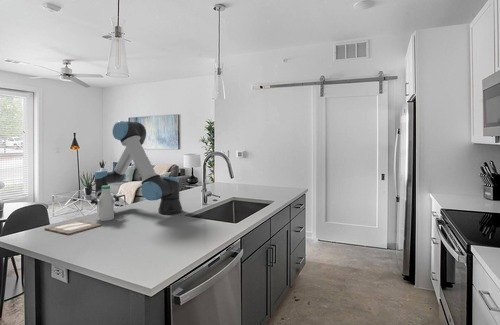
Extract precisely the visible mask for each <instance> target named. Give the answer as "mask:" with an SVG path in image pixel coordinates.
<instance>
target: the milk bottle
mask: <svg viewBox="0 0 500 325" xmlns="http://www.w3.org/2000/svg"><path fill="white" fill-rule="evenodd" d="M101 189H102V193H101V196H100V198H99V201H100V206H98V217H99V221H100V222H108V221H113V220H114V219H115V214H114V213H115V211H114V207H115V204H114V203H113V197H112V196H113V195H112V193H111V185H108V186H101Z"/></svg>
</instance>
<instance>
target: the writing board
mask: <svg viewBox="0 0 500 325" xmlns="http://www.w3.org/2000/svg"><path fill="white" fill-rule="evenodd" d="M99 227H102V224H100V223H95V222H91V221H85V220H78V219H77V220H74V221H73V220H72V221H69V222H65V223H61V224H55V225H53V226H48V227H45V228H44V231H49V232H53V233H58V234H61V235H65V236H70V235H74V234H78V233H81V232H84V231H87V230H91V229H94V228H99Z"/></svg>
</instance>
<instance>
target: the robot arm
mask: <svg viewBox="0 0 500 325" xmlns="http://www.w3.org/2000/svg"><path fill="white" fill-rule="evenodd" d="M111 131H112V135H113V138H114V139H116V140H117V141H120V144H121V145H122V146H124V147H125V148H124V150H123V152H122V154H121V156H120V157H119V159H118V161H117V163H116V165H115V167H114V169H113V170H112V172H108V170H103V169H102V170H95V172H94V183H95V184H94V185H95V186H94V188H95V190H94V191H95V192H94V196H91V200H90V201H91V204H93V205H95V206H98V207H99V206H100V201H99V198H100V196H101V193H102V189H101V186H109V184H116V183H121V182H124V181H125V180H126V178H127V175H126V172H127V170H128V169H129V168H130V164H131V163H132V162H133V164H134V166H135V167H136V169H137V172H138V173H139V176H140V178H141V182H140V183H141V186H140V192H141V196H143V198H145V200H147V201H152V202H153V201H158V200H160V203H159V207H158V211H157V212H158V213H159V214H161V215H175V214H179V213H180V214H181V213H182V212H183V206H182V204H181V200H180V179H179V177H176V176H161V175H160V174H159V173H157V172H156V171H155V169H154V167H153V165H152V164H151V161H150V160H149V157H148V154H147V153H146V151H145V149H144V147H143V144H144V142H145V141H146V137H147V129H146V127H145V125H143V123H140V122H137V121H127V120H118V121H117V122H115V123H114V124H113V126H112V130H111ZM112 197H113V205H116V202H120V197H119V196H118V195H116V194H114V195H112Z"/></svg>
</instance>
